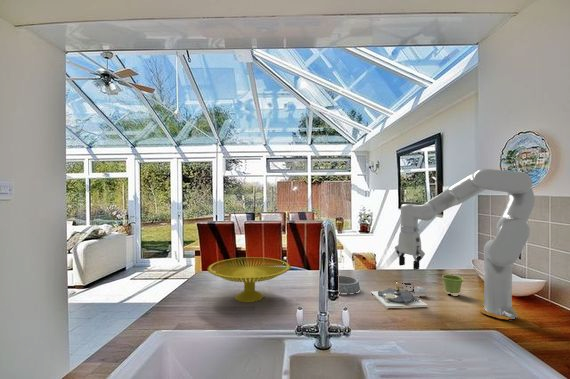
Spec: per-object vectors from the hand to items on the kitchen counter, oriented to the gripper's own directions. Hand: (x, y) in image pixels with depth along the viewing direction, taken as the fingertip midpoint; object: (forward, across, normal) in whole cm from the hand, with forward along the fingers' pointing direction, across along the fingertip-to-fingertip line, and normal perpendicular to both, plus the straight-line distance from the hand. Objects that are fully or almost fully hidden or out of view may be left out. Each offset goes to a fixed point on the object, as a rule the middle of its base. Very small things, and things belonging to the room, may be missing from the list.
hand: (409, 267), depth 142 cm
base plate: (+16, +2, +5) cm, 17 cm away
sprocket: (+14, +2, +5) cm, 15 cm away
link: (+16, +2, -10) cm, 19 cm away
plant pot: (+16, -4, -26) cm, 31 cm away
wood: (+17, +18, -16) cm, 29 cm away
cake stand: (+16, +38, +66) cm, 78 cm away
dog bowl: (+17, +27, +18) cm, 36 cm away
